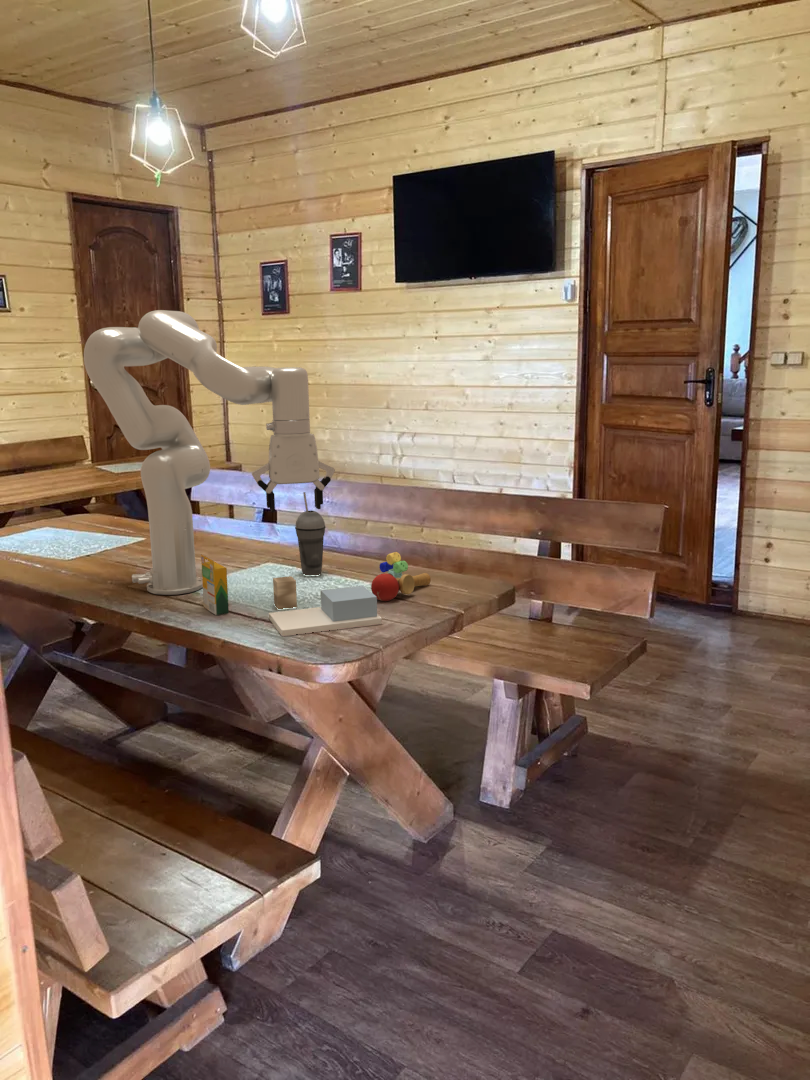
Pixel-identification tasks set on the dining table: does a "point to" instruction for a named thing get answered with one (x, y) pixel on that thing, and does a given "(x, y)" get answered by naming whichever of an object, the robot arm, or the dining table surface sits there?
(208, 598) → the crayon box
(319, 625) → the baseplate
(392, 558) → the dice
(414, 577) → the kendama
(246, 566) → the dining table surface
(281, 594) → the birch block
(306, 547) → the beverage cup
